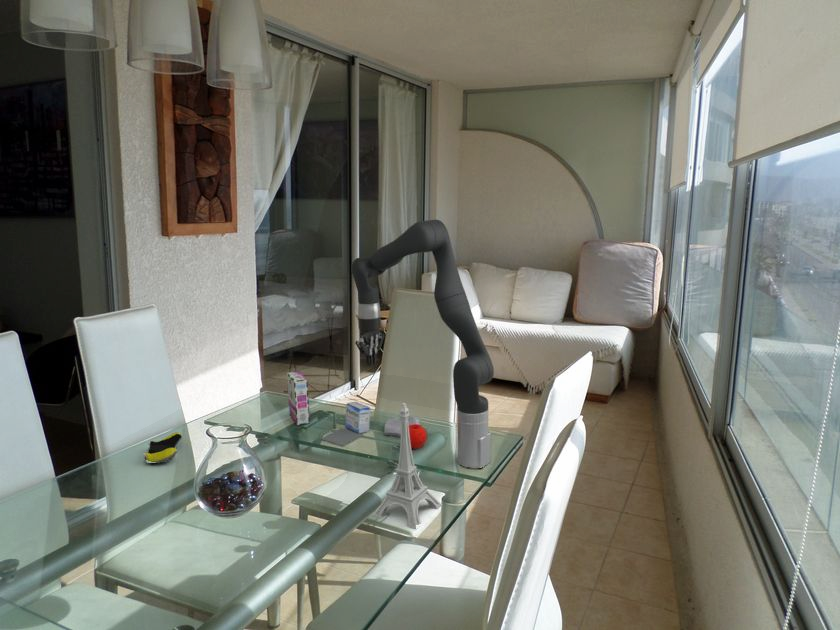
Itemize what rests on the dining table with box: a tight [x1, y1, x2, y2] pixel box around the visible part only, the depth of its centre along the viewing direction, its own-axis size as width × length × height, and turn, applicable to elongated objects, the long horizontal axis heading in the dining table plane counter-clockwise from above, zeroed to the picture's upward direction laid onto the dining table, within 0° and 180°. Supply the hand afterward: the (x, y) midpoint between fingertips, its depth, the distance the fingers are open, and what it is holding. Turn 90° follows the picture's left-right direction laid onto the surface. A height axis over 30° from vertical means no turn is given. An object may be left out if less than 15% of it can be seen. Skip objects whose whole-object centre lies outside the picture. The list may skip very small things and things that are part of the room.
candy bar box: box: [286, 370, 311, 426], centre depth 231 cm, size 11×5×16 cm, turn 25°
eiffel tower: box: [371, 402, 443, 530], centre depth 168 cm, size 13×13×30 cm
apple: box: [409, 424, 428, 450], centre depth 208 cm, size 8×8×7 cm
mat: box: [320, 427, 364, 447], centre depth 217 cm, size 10×10×1 cm
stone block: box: [383, 416, 421, 438], centre depth 220 cm, size 12×5×10 cm
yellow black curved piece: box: [143, 431, 183, 464], centre depth 205 cm, size 15×6×10 cm
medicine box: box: [345, 401, 371, 434], centre depth 222 cm, size 8×4×9 cm, turn 42°
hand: (371, 364), depth 225 cm, fingers closed
